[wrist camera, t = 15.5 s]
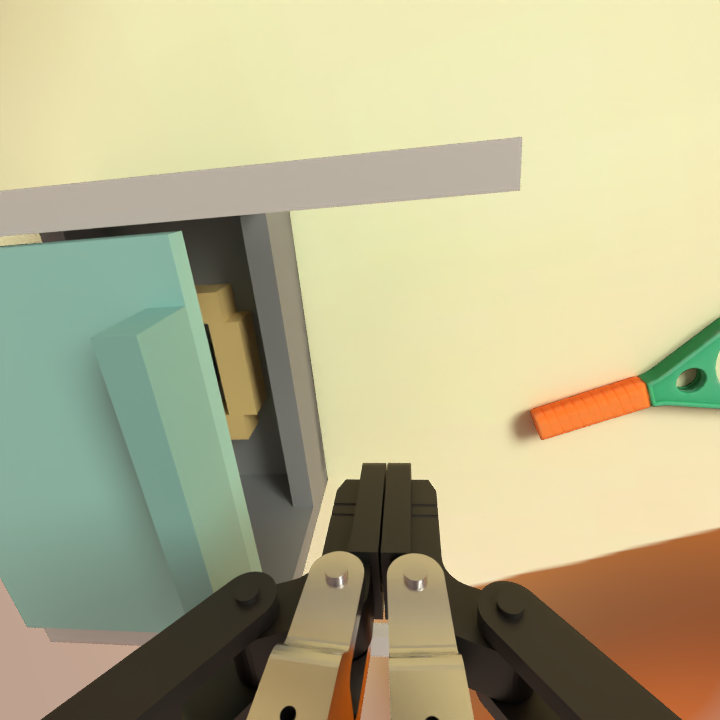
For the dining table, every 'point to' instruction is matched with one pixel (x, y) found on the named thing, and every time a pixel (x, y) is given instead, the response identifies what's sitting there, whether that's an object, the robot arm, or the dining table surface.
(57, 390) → the lid
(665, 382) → the magnifying glass
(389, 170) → the housing
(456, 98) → the dining table surface
